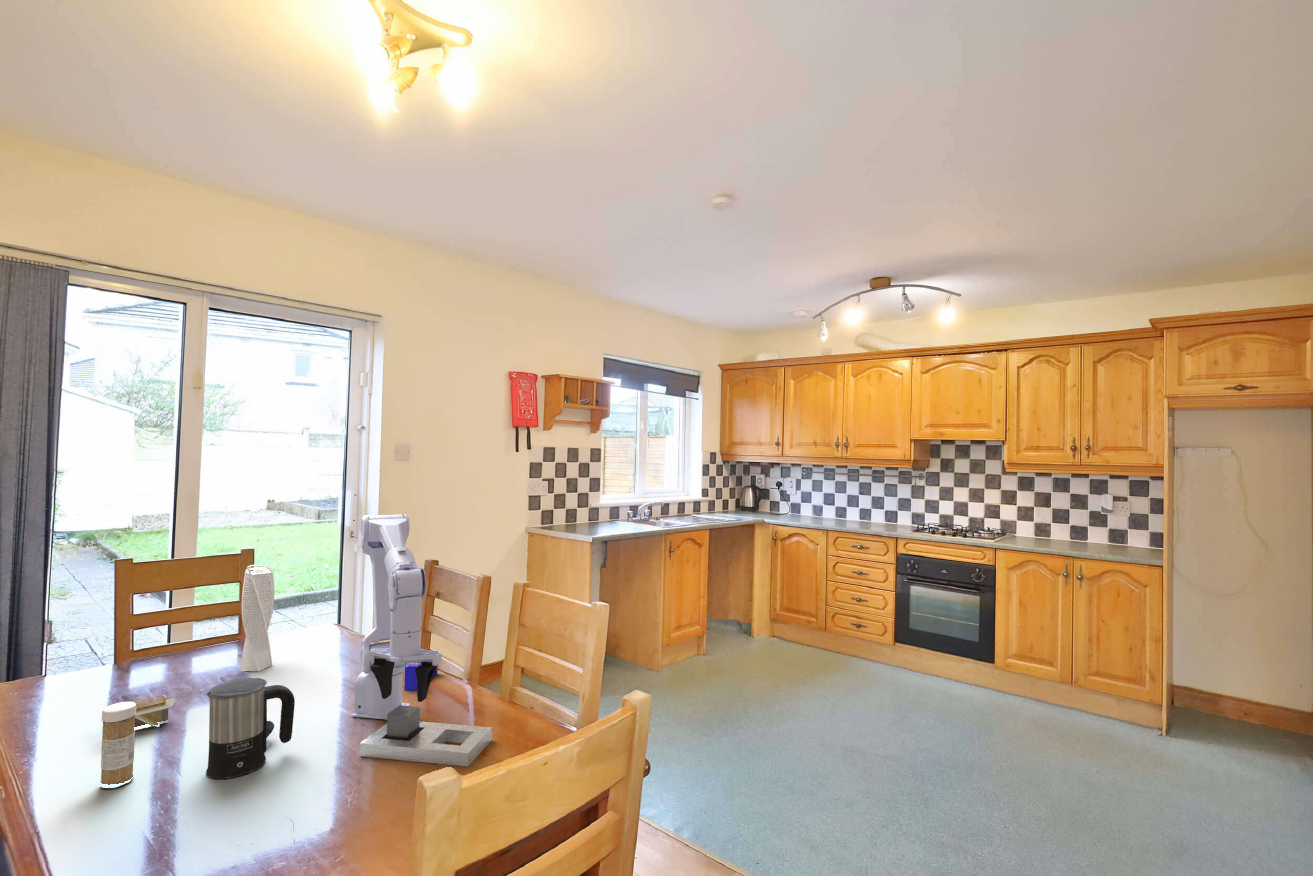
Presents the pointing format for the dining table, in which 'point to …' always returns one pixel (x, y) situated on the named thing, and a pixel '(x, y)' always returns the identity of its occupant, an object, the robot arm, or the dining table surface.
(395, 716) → the upright grey block
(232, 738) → the milk frother
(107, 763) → the sprinkles bottle
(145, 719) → the platform
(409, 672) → the cable clip
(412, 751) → the grey flat slab
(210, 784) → the dining table surface
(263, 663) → the skyscraper
